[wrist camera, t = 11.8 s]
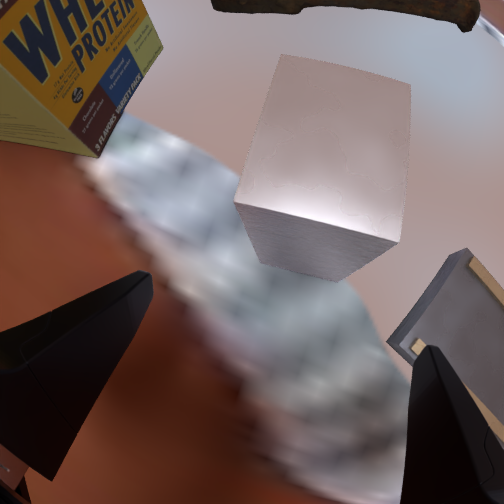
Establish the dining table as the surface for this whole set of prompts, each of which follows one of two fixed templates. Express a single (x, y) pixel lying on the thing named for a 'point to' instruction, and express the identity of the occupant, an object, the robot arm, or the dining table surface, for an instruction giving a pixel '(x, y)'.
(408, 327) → the grey gold-striped flat block
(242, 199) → the pale upright block
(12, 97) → the protein box
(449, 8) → the dark brown rod
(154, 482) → the dining table surface
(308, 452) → the dining table surface
